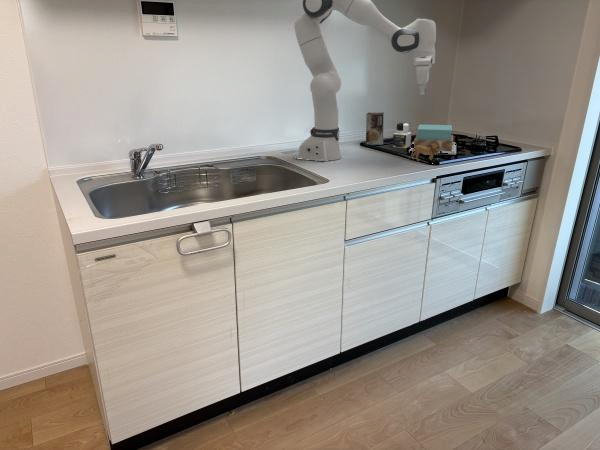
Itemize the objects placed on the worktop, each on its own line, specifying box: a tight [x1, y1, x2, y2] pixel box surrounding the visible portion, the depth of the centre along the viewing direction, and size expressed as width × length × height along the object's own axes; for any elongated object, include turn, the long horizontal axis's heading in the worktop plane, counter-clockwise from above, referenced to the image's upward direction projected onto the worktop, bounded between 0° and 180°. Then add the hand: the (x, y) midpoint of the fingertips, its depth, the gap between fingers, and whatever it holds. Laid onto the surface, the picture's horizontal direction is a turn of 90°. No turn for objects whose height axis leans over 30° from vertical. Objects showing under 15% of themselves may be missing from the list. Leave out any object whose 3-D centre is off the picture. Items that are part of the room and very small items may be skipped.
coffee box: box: [365, 112, 385, 146], centre depth 237 cm, size 9×6×16 cm
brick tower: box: [408, 124, 457, 155], centre depth 223 cm, size 22×22×11 cm
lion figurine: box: [407, 141, 442, 162], centre depth 202 cm, size 15×5×9 cm, turn 79°
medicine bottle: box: [392, 122, 412, 149], centre depth 229 cm, size 7×7×12 cm
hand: (422, 93), depth 192 cm, fingers open, 8 cm apart
